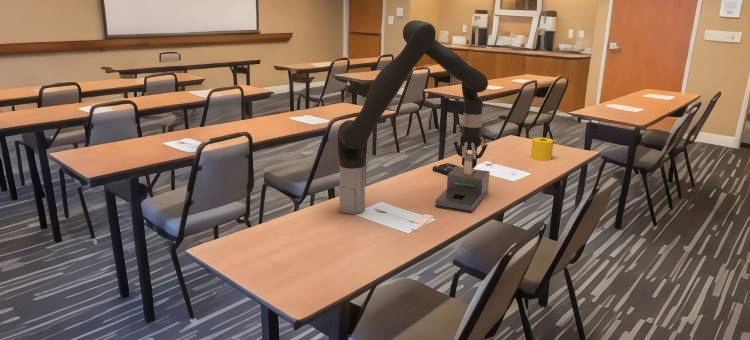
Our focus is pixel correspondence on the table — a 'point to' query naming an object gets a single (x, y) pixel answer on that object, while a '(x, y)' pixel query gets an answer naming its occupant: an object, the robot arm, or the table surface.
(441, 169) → the disk drive
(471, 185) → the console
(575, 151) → the table surface
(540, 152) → the tape roll
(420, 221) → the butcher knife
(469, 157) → the plug
